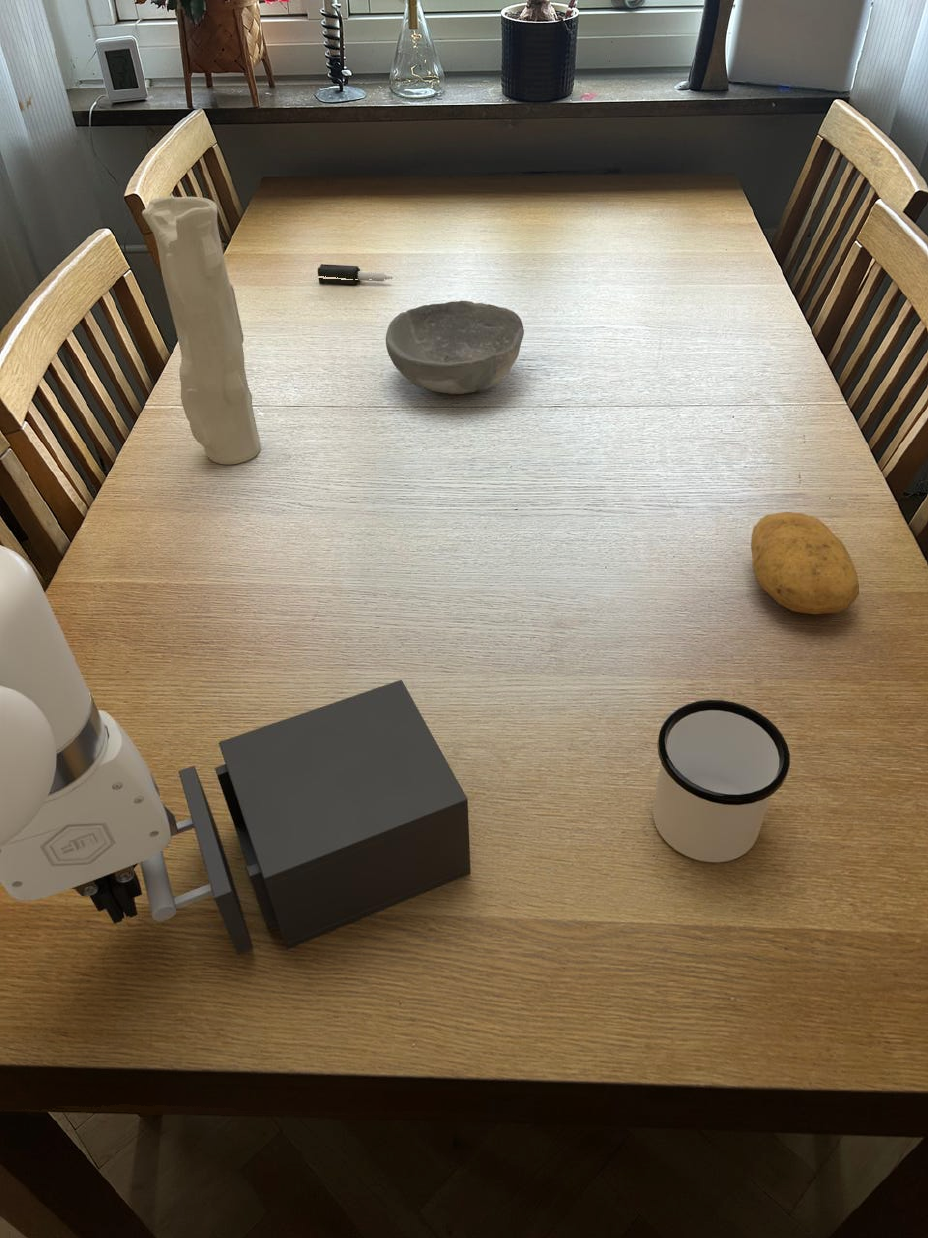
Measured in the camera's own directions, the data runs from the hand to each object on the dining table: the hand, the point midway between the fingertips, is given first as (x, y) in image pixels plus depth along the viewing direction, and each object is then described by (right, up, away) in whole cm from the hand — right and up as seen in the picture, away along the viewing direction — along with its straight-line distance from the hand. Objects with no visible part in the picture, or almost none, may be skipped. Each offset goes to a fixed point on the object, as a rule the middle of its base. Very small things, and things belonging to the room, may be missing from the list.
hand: (122, 902), depth 66 cm
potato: (+57, +23, +28) cm, 68 cm away
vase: (-4, +41, +49) cm, 63 cm away
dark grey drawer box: (+16, +2, +7) cm, 17 cm away
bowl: (+23, +52, +60) cm, 82 cm away
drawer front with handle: (+10, +1, +5) cm, 11 cm away
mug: (+44, +5, +9) cm, 45 cm away
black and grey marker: (+7, +74, +84) cm, 112 cm away
